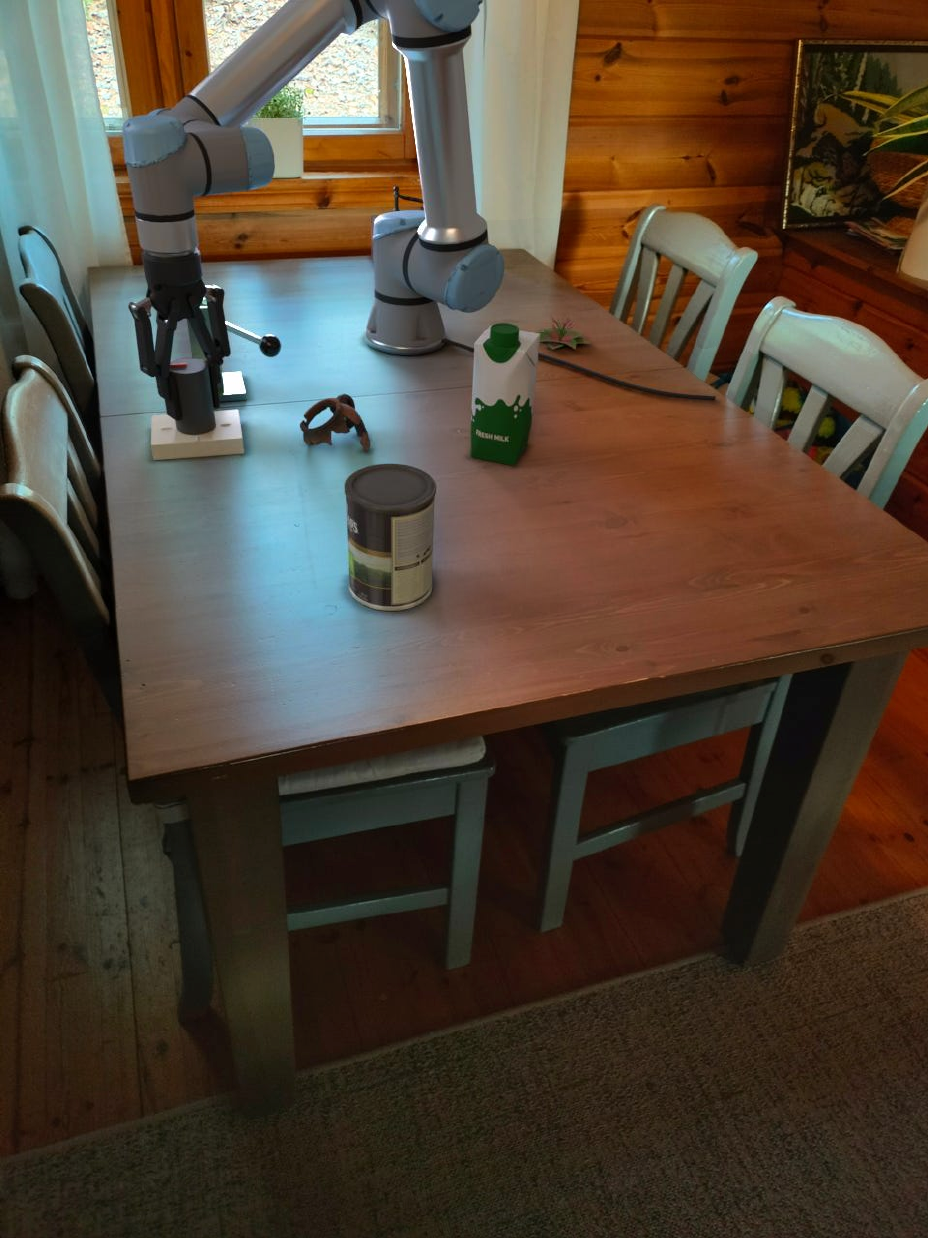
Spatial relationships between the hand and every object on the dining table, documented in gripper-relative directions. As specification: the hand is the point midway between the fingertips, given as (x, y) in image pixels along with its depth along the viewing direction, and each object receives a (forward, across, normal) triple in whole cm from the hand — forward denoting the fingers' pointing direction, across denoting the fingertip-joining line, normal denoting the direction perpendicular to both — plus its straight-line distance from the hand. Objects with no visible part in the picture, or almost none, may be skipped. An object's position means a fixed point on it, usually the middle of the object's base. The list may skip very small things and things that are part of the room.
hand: (194, 410), depth 135 cm
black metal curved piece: (+5, -85, -49) cm, 98 cm away
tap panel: (+5, 0, 0) cm, 5 cm away
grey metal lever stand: (+5, -11, -15) cm, 19 cm away
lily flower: (+5, -76, +7) cm, 76 cm away
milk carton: (+5, -33, +32) cm, 46 cm away
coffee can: (+5, +2, +48) cm, 48 cm away
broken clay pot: (+5, -16, +14) cm, 22 cm away
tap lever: (-3, -15, -12) cm, 20 cm away
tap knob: (+3, 0, 0) cm, 3 cm away
